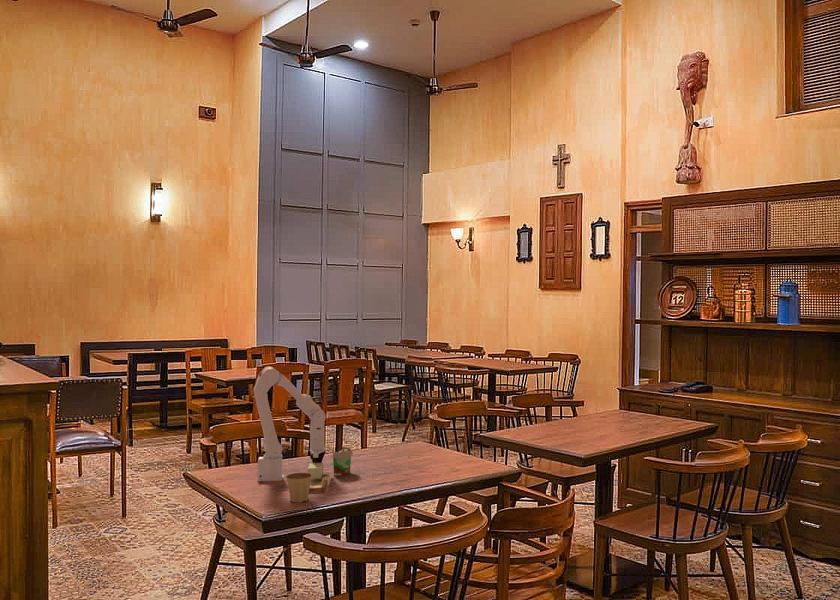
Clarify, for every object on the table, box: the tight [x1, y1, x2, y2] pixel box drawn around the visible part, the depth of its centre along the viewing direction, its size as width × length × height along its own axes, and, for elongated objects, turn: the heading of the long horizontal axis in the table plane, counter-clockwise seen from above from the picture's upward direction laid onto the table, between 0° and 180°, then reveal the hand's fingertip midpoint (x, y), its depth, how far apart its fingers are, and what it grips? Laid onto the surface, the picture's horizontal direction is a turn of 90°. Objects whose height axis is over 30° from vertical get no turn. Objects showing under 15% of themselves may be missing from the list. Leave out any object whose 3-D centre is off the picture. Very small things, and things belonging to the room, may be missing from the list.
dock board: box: [309, 476, 332, 494], centre depth 267 cm, size 12×23×2 cm, turn 3°
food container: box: [332, 446, 354, 477], centre depth 283 cm, size 12×6×10 cm, turn 168°
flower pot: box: [285, 472, 313, 503], centre depth 247 cm, size 9×9×9 cm
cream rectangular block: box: [307, 462, 324, 481], centre depth 275 cm, size 5×10×5 cm, turn 3°
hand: (317, 471), depth 282 cm, fingers closed
